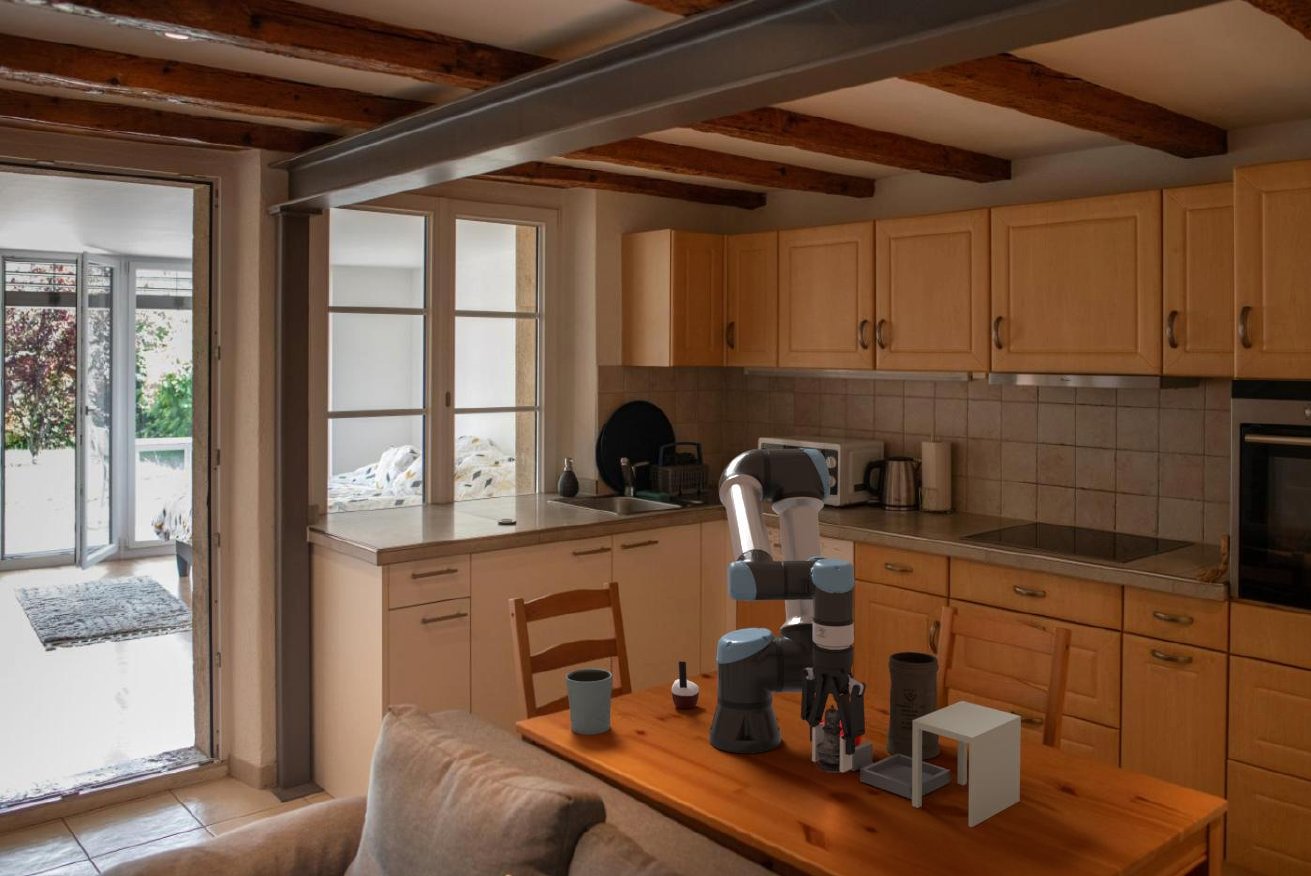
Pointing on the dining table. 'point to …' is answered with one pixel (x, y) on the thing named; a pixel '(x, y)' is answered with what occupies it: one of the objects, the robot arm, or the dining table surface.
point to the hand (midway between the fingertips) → (831, 764)
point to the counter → (975, 755)
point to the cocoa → (684, 690)
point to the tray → (896, 772)
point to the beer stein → (912, 701)
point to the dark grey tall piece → (830, 742)
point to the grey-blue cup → (589, 700)
